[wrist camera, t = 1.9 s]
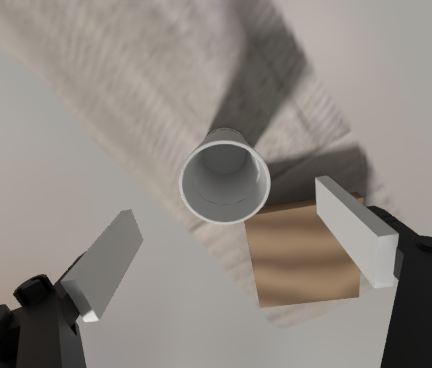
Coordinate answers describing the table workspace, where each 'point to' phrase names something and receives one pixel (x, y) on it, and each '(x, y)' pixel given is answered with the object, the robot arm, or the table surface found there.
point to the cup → (224, 178)
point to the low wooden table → (298, 256)
